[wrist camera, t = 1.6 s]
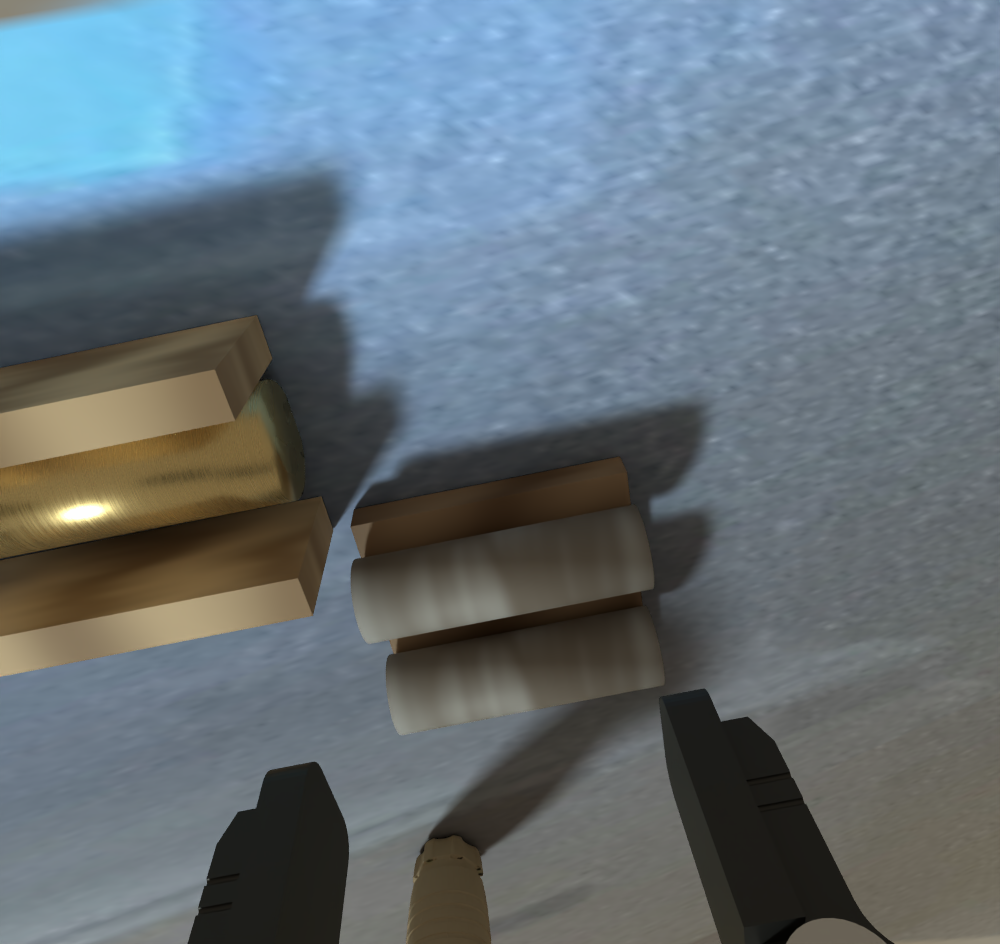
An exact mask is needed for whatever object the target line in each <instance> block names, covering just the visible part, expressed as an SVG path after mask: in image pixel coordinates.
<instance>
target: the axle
mask: <svg viewBox="0 0 1000 944" xmlns="http://www.w3.org/2000/svg"><path fill="white" fill-rule="evenodd" d="M304 485H305V459H304V451H303V445H302V440H301V437H300V434H299V431H298V428H297V425H296V423H295V420H294V417H293V414H292V411H291V408H290V405H289V403H288V400H287V397H286V395H285V393H284V391H283V390H282V388H281V387H280V386H279V385H278V384H277V383H276V382H275V381H273V380H264V381H259V382H258V383H257V385H256V387H255V388H254V390H253V392H252V393H251V395H250V397H249V398H248V400H247V402H246V403H245V405H244V407H243V408H242V410H241V412H240V413H239V415H238V417H237V418H236V420H235V421H232V422H227V423H222V424H217V425H212V426H207V427H202V428H197V429H192V430H187V431H182V432H177V433H172V434H167V435H162V436H158V437H153V438H148V439H143V440H138V441H133V442H128V443H123V444H118V445H113V446H108V447H103V448H98V449H93V450H88V451H84V452H79V453H74V454H69V455H64V456H59V457H54V458H49V459H44V460H39V461H34V462H29V463H24V464H19V465H14V466H9V467H5V468H0V559H1V558H6V557H11V556H16V555H21V554H27V553H32V552H37V551H42V550H47V549H52V548H57V547H62V546H67V545H73V544H78V543H83V542H88V541H93V540H98V539H103V538H108V537H114V536H119V535H124V534H129V533H134V532H139V531H144V530H149V529H155V528H160V527H165V526H170V525H175V524H180V523H185V522H190V521H195V520H201V519H206V518H211V517H216V516H221V515H226V514H231V513H236V512H242V511H247V510H252V509H257V508H262V507H267V506H272V505H277V504H283V503H288V502H293V501H297V500H299V499H300V498H301V496H302V494H303V490H304Z"/></svg>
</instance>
